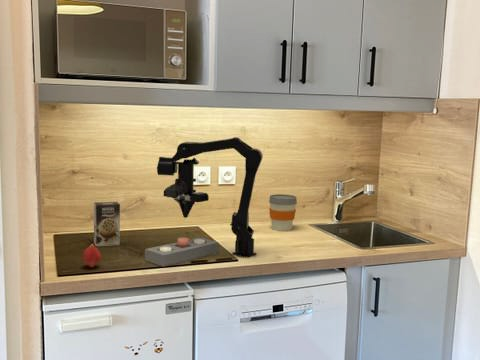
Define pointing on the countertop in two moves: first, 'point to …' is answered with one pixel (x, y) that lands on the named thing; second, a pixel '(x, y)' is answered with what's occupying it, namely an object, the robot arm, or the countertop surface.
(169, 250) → the button pale left
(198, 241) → the button pale right
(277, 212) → the reusable coffee cup
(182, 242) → the button red middle
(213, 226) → the countertop surface
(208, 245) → the button panel
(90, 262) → the onion
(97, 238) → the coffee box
